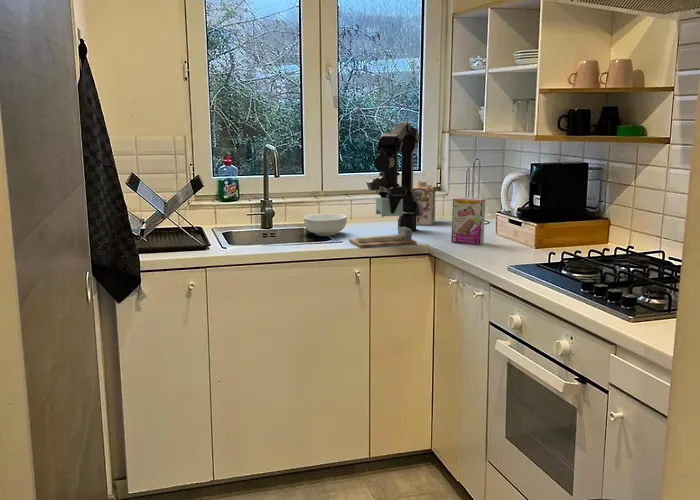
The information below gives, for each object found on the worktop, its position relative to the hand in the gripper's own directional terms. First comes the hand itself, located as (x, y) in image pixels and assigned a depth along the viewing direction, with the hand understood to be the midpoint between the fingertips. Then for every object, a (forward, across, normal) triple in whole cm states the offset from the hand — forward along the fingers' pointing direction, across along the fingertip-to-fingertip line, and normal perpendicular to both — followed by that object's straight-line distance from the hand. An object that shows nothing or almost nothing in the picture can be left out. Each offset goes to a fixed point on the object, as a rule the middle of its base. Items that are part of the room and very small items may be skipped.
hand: (389, 212), depth 262 cm
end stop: (+11, 0, +6) cm, 13 cm away
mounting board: (+11, 0, -2) cm, 12 cm away
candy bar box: (+11, +9, +28) cm, 31 cm away
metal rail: (+11, 0, -2) cm, 12 cm away
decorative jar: (+11, -37, +28) cm, 48 cm away
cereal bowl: (+12, -24, -18) cm, 32 cm away
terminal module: (+1, 0, 0) cm, 1 cm away
